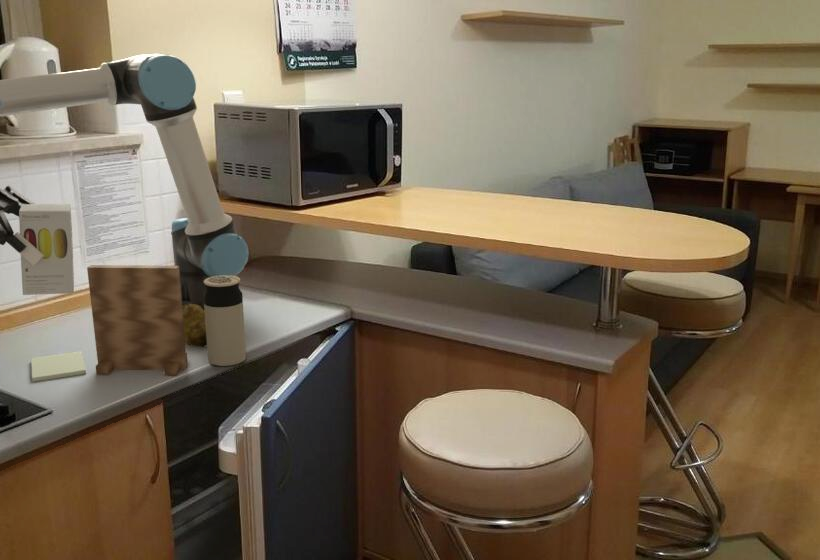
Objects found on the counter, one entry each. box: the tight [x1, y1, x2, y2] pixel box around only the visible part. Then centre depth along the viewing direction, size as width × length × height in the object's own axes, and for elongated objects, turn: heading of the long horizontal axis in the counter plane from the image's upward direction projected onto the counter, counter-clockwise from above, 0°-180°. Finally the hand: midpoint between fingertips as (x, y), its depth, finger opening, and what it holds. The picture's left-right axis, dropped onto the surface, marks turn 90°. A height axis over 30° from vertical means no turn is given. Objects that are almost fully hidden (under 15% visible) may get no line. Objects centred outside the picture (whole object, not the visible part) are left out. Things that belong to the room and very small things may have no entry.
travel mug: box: [204, 275, 247, 367], centre depth 167 cm, size 8×8×18 cm
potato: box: [182, 304, 207, 348], centre depth 180 cm, size 8×13×8 cm, turn 16°
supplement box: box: [18, 203, 75, 296], centre depth 158 cm, size 10×9×17 cm
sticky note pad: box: [30, 350, 87, 383], centre depth 165 cm, size 10×12×1 cm
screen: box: [86, 264, 188, 377], centre depth 162 cm, size 18×8×22 cm, turn 89°
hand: (53, 253), depth 158 cm, fingers closed on supplement box, 12 cm apart
